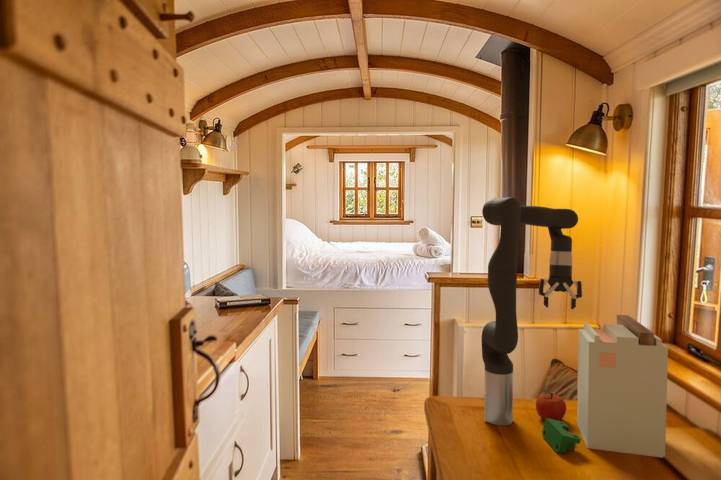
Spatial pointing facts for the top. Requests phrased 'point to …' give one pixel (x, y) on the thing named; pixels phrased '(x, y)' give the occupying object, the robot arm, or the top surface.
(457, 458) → the top surface
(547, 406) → the fruit
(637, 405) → the rail stand
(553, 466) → the top surface
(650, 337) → the walnut bar
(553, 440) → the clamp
